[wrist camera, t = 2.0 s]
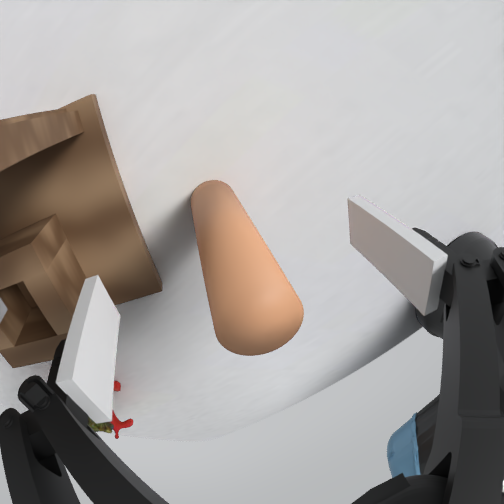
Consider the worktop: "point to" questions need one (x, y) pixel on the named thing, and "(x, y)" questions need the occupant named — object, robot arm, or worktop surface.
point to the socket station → (62, 227)
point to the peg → (241, 276)
